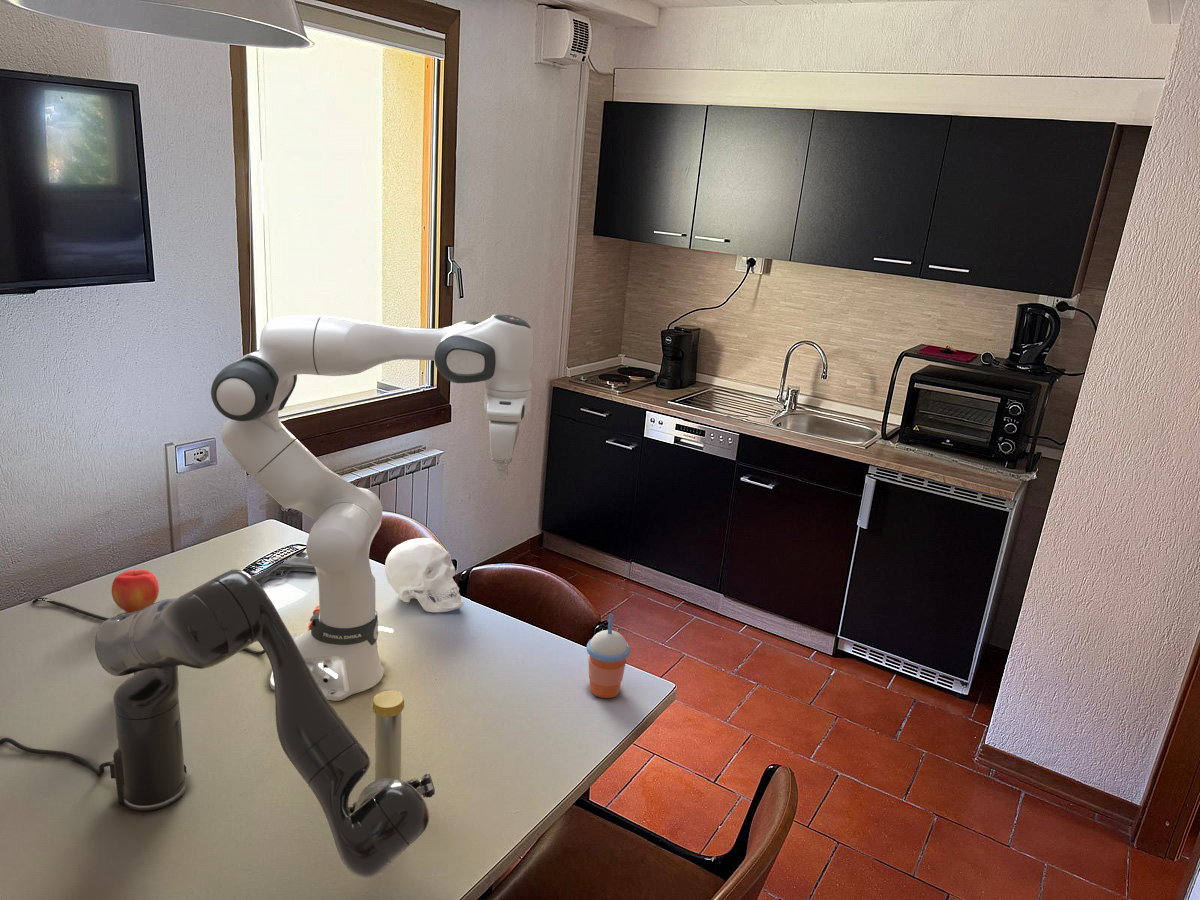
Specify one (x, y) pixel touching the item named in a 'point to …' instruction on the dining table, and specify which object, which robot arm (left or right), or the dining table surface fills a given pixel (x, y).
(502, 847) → the dining table surface
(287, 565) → the handgun
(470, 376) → the right robot arm
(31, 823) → the dining table surface
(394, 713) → the lid
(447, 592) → the skull
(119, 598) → the apple
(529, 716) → the dining table surface
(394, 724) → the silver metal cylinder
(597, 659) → the cup with straw
